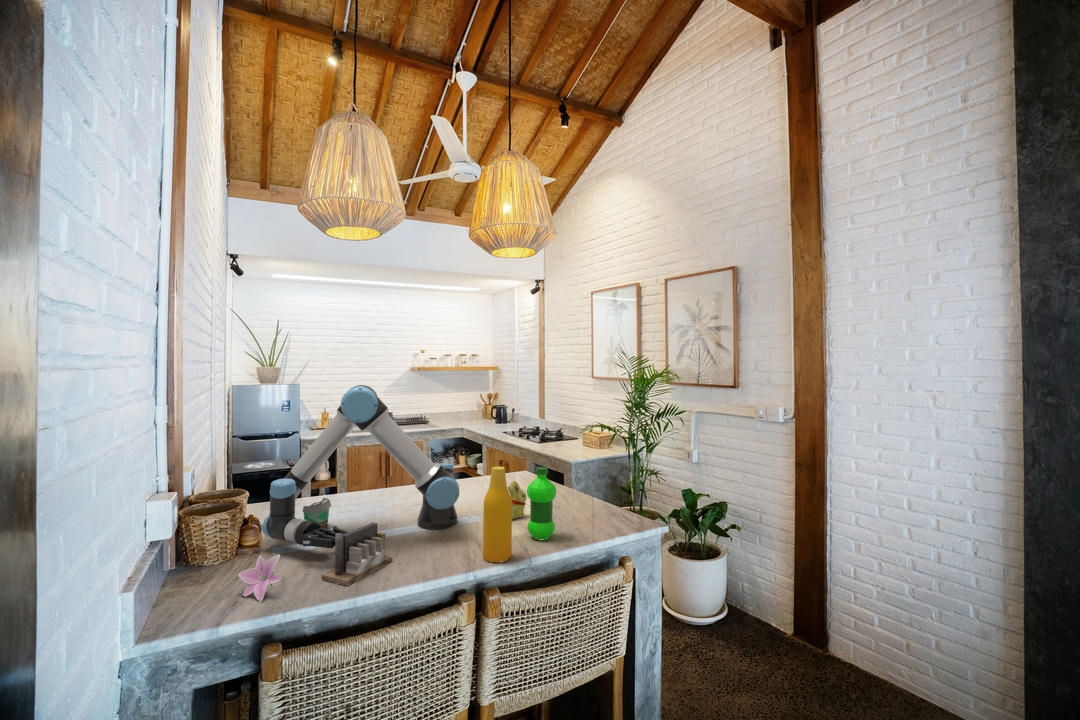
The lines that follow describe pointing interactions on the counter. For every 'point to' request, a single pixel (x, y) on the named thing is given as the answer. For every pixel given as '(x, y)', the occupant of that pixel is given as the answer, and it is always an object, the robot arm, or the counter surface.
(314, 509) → the food container
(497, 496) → the beer bottle
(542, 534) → the plastic bottle
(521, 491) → the chocolate bunny
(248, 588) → the lily
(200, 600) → the counter surface
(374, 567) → the grey model on base
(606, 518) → the counter surface
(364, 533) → the grey stone panel
